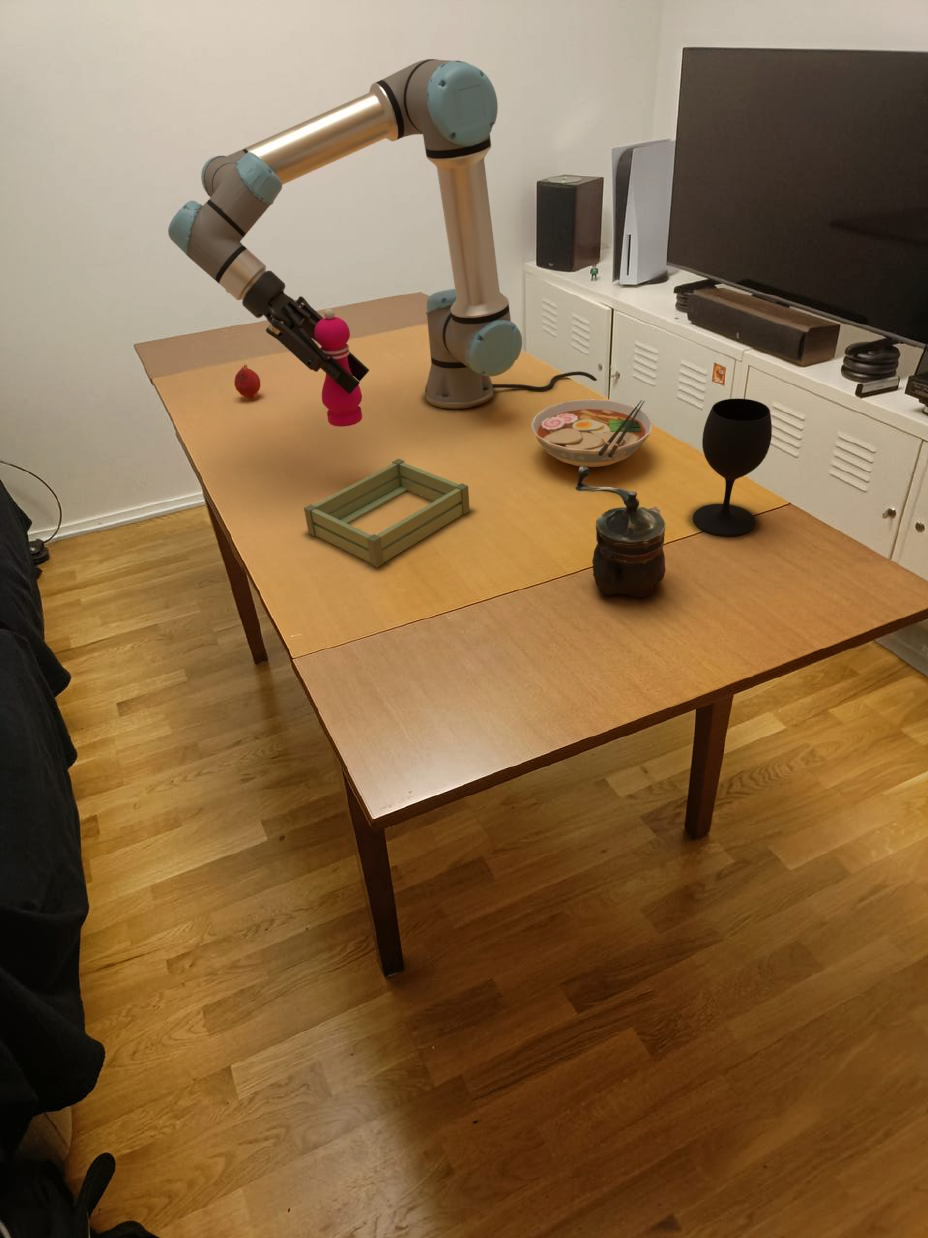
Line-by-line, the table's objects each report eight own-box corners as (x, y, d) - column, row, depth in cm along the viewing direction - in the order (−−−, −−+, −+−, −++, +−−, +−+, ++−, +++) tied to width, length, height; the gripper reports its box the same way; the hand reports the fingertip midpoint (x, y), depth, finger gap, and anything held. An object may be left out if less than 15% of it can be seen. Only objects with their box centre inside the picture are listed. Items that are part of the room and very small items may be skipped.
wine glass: (757, 509, 145) (777, 398, 133) (753, 540, 138) (774, 426, 126) (696, 502, 148) (710, 393, 136) (688, 532, 141) (702, 420, 129)
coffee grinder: (587, 553, 138) (591, 452, 127) (675, 575, 131) (687, 471, 120) (553, 594, 129) (554, 489, 118) (645, 620, 123) (655, 512, 112)
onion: (257, 403, 195) (250, 370, 190) (234, 402, 196) (226, 369, 191) (267, 393, 199) (260, 360, 194) (244, 392, 200) (236, 359, 195)
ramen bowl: (557, 424, 177) (558, 386, 172) (665, 440, 168) (669, 401, 163) (510, 477, 159) (509, 438, 154) (627, 498, 151) (630, 457, 146)
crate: (401, 483, 160) (398, 458, 157) (469, 511, 150) (468, 485, 147) (308, 533, 147) (303, 507, 144) (377, 568, 138) (373, 541, 134)
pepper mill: (326, 413, 157) (308, 303, 145) (365, 409, 157) (350, 300, 145) (324, 429, 151) (305, 317, 139) (365, 426, 152) (349, 313, 139)
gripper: (263, 285, 152) (362, 376, 158) (220, 318, 138) (331, 417, 144) (285, 254, 147) (386, 349, 154) (243, 285, 133) (356, 388, 140)
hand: (359, 381), depth 149 cm, fingers closed on pepper mill, 5 cm apart
